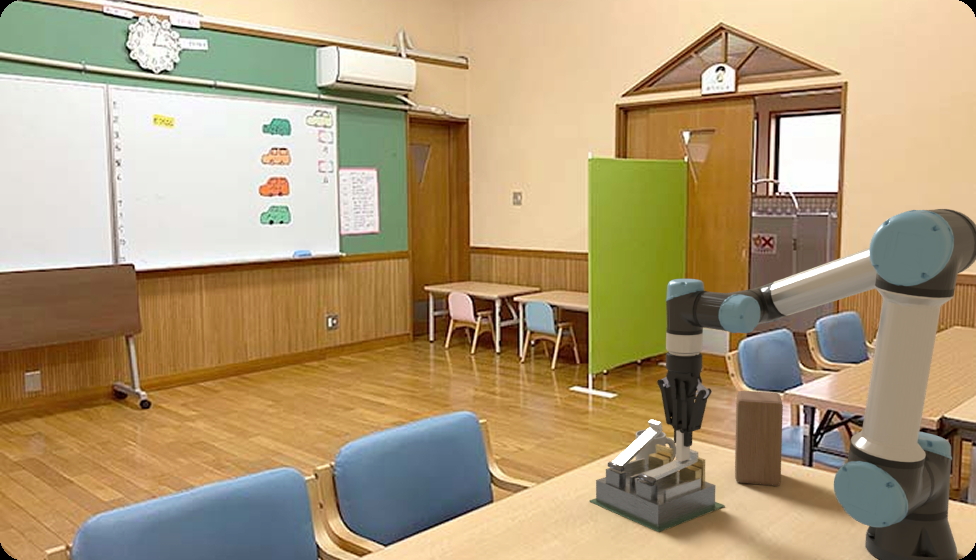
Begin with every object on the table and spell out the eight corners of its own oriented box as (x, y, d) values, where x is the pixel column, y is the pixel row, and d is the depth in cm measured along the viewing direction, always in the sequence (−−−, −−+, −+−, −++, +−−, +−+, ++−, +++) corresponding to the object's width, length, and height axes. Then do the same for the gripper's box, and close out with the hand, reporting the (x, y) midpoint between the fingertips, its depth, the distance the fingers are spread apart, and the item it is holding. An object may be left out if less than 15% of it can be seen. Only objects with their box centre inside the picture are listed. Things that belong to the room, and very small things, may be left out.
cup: (632, 464, 198) (632, 430, 197) (672, 463, 199) (672, 428, 198) (639, 474, 191) (639, 439, 190) (680, 473, 191) (680, 437, 190)
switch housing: (724, 506, 171) (725, 460, 170) (658, 532, 159) (659, 483, 158) (654, 480, 187) (655, 438, 186) (589, 501, 175) (589, 456, 174)
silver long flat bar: (665, 431, 177) (662, 422, 176) (621, 472, 169) (617, 464, 169) (652, 427, 180) (649, 418, 179) (608, 468, 172) (605, 459, 172)
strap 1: (700, 462, 171) (700, 452, 170) (652, 484, 162) (651, 473, 162) (686, 458, 174) (686, 447, 173) (638, 479, 165) (637, 468, 165)
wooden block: (735, 483, 184) (736, 399, 182) (734, 469, 194) (736, 389, 192) (780, 487, 181) (783, 402, 179) (778, 472, 191) (780, 391, 189)
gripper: (720, 354, 164) (718, 463, 167) (672, 344, 175) (671, 447, 178) (697, 359, 160) (695, 472, 163) (648, 349, 171) (648, 455, 173)
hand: (682, 459), depth 170 cm, fingers closed
